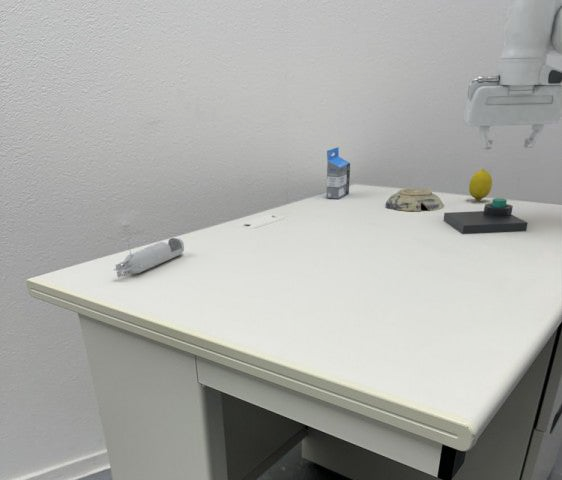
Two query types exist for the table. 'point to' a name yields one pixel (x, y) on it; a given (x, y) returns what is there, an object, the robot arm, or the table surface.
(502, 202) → the scale button
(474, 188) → the lemon
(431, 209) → the decorative bowl
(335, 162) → the ink cartridge box
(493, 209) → the dark grey button base
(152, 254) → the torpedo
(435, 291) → the table surface
